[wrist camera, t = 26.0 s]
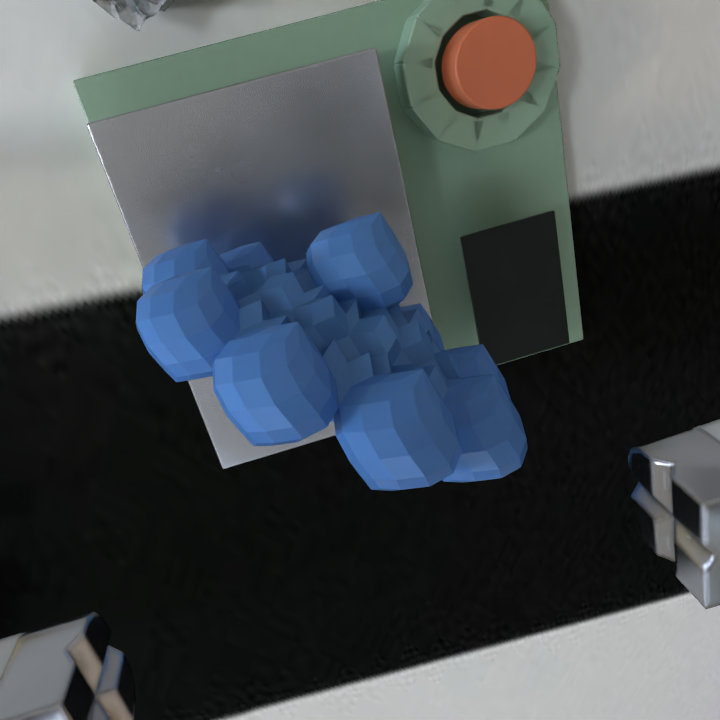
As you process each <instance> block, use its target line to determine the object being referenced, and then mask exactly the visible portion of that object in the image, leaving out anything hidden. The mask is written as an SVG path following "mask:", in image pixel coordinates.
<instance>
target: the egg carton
mask: <svg viewBox="0 0 720 720" xmlns="http://www.w3.org/2000/svg"><path fill="white" fill-rule="evenodd" d="M93 1H94V2H96V3H97V4H98V5H99V6H101V7H102V8H103V9H104V10H105V11H107V12H108V13H109V14H110V15H111V16H113V17H114V18H116V19H118V18H119V19H121V20H122V21H123V22H125V23H127V24H128V25H130V26H131V27H132V28H133V29H135V30H137V31H140V28H141V25H142V24H143V22H144V21H145V20H146V19H148V18H149V17H152V16H154V15H155V14H156V13H157V12H158V11H159V10H162V11H165V10H166V9H167V8H168V7H169V6H170V5H171V3H172V2H173V0H93Z"/></svg>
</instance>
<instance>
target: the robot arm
mask: <svg viewBox="0 0 720 720" xmlns="http://www.w3.org/2000/svg"><path fill="white" fill-rule="evenodd" d="M628 459H629V472H630V473H631V474H632V475H633V476H634V477H635V478H636V479H637V480H638V481H639V483H638V484H637V486H636V488H635V490H634V491H633V493H632V495H631V498H632V507H633V514H634V517H635V519H636V522H637V525H638V527H639V530H640V532H641V534H642V535H643V537H644V538H645V540H646V542H647V543H648V544H649V546H650V547H651V548H652V549H653V550H654V551H655V553H656V554H657V555H659V556H661V557H664V558H667V559H669V560H672V561H675V567H676V577H677V578H678V579H679V580H680V581H681V582H682V583H683V584H684V585H685V587H686V588H687V589H688V590H689V591H690V592H691V593H692V594H693V596H694V597H695V598H696V599H697V600H698V601H699V602H700V603H701V604H702V606H703V607H704V608H705V609H708V608H712V607H715V606H718V605H720V419H719V420H716V421H713V422H710V423H707V424H704V425H701V426H698V427H695V428H693V430H689V431H686V432H683V433H679V434H676V435H673V436H670V437H667V438H663V439H660V440H657V441H654V442H650V443H647V444H644V445H641V446H638V447H634V448H631V450H630V454H629V457H628ZM110 634H111V630H110V628H109V626H108V625H107V623H106V621H105V620H104V618H103V617H102V615H101V614H97V613H90V614H86V615H82V616H79V617H75V618H72V619H68V620H65V621H61V622H58V623H54V624H50V625H47V626H43V627H40V628H36V629H33V630H29V631H26V632H25V633H20V634H17V635H13V636H10V637H6V638H3V639H0V720H133V717H134V711H135V704H136V695H135V680H134V677H133V673H132V670H131V667H130V664H129V662H128V660H127V658H126V657H125V655H124V653H123V652H121V651H119V650H117V649H115V648H113V647H110V646H108V642H109V638H110Z"/></svg>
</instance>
